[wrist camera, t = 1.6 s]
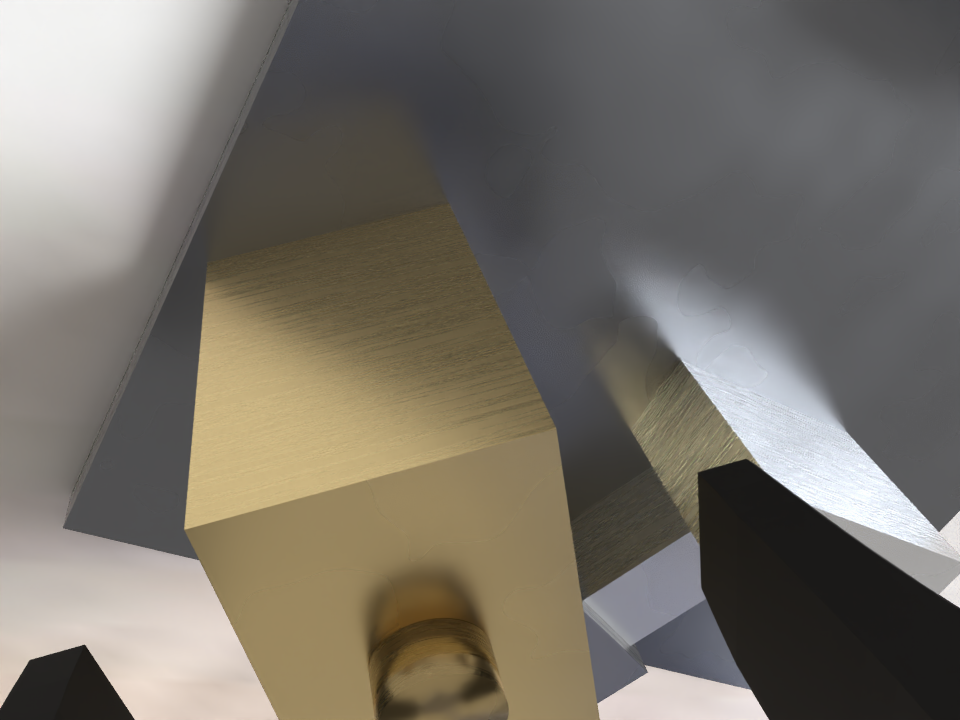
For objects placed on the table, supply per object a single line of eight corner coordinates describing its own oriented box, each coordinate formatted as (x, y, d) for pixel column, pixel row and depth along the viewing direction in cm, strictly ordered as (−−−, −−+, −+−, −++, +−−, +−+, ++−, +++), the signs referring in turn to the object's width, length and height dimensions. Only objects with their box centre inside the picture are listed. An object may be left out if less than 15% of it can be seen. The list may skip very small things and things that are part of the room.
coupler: (505, 481, 16) (626, 812, 11) (311, 534, 16) (342, 900, 11) (449, 203, 13) (581, 481, 8) (207, 262, 13) (178, 594, 8)
